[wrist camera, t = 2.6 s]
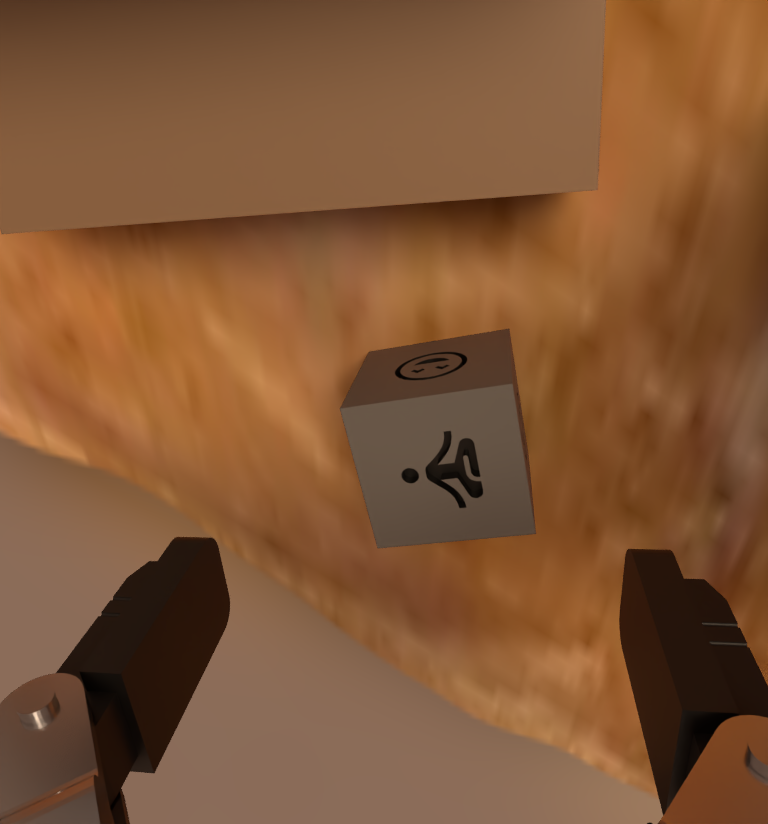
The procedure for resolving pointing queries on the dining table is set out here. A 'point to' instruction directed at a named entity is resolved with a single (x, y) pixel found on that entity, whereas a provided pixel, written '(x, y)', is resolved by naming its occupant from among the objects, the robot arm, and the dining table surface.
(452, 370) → the dice cube
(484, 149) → the board
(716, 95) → the dining table surface
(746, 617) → the dining table surface
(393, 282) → the dining table surface
